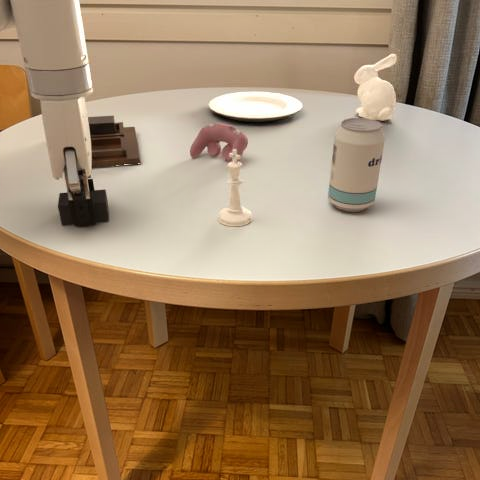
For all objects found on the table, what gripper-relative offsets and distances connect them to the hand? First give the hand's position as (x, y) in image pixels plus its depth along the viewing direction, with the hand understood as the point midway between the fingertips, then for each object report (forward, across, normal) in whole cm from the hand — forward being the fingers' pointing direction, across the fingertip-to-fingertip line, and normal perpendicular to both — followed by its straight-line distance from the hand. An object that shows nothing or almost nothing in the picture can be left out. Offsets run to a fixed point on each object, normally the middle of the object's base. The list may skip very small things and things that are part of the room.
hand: (85, 213), depth 76 cm
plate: (+1, -46, +36) cm, 58 cm away
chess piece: (+1, +5, +21) cm, 22 cm away
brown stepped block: (0, -28, +2) cm, 28 cm away
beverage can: (+1, +4, +39) cm, 39 cm away
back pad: (0, 0, 0) cm, 0 cm away
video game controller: (+1, -19, +23) cm, 30 cm away
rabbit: (+1, -39, +61) cm, 72 cm away
